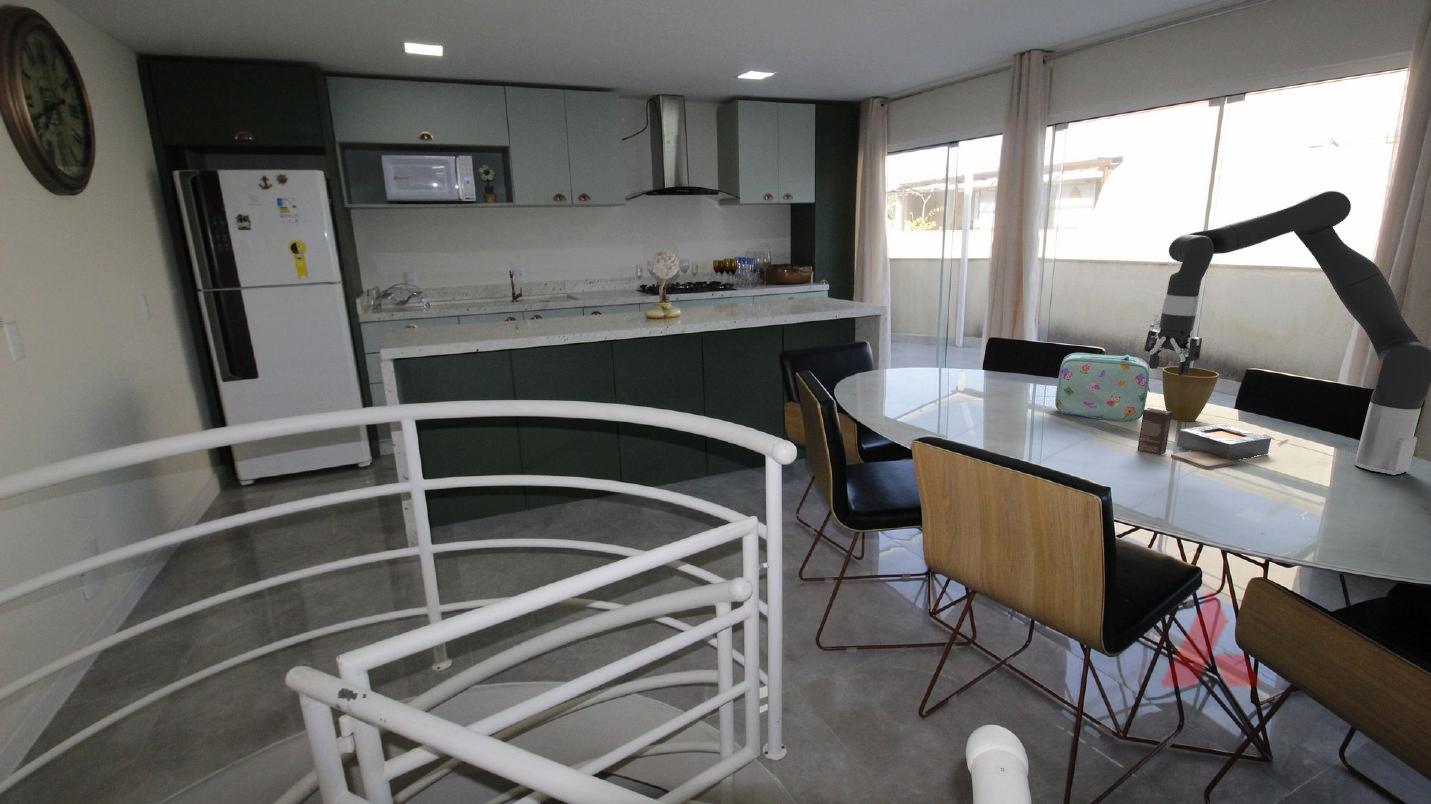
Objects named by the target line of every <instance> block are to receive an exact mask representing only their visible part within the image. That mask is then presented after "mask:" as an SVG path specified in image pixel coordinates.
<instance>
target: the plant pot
mask: <svg viewBox="0 0 1431 804" xmlns="http://www.w3.org/2000/svg"><path fill="white" fill-rule="evenodd" d="M1178 370H1179V366H1177V365H1176V366H1174V365H1172V366H1165V367H1163V368H1162V374H1161V375H1162V378H1161V379H1162V393H1163V401H1164V407H1165V411H1170V412H1172V417H1171V421H1177V422H1181V423H1192V422H1195V421H1196V420H1197V419H1198V418H1199V416H1200V414H1201V413H1202V412H1203V409H1205V407H1206V404H1208V401H1209V399H1210V397H1211V395H1212V394H1213V391H1214V389H1215V387H1216V384H1217V381H1218V379H1219V377H1220V373H1218V372H1216V371H1213V370H1209V369H1205V368H1199V367H1191V366H1189V371H1188V373H1187V374H1186V375H1182V376H1181V375H1178Z"/></svg>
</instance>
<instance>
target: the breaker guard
mask: <svg viewBox="0 0 1431 804" xmlns="http://www.w3.org/2000/svg"><path fill="white" fill-rule="evenodd" d="M1218 431H1222V432H1226V433H1229V434H1233V435H1237V436H1240V437H1241V438H1235V439H1226V438H1222V437H1219V436H1215V435H1212V434H1208V433H1212V432H1218ZM1271 440H1272V437H1271V436H1267V435H1262V434H1259V433H1256V432H1255V433H1254V432H1252V431H1248V430H1243V429H1240V428H1237V427H1233V426H1229V425H1226V424H1222V423H1216V424H1208V425H1202V426H1196V427H1188V428H1182V429H1179V430H1178V436H1177V443H1176V447H1177V448H1181V449H1184V450H1187V451H1194V450H1199V451H1202V452H1205V453H1209V454H1212V455H1215V456H1218V457H1221V458H1225V459H1228V460H1231V461H1234V462H1235V461H1240V460H1239V459H1241V460H1244V459H1243V458H1247V459H1252V458H1251V457H1253V458H1255V457H1254V456H1257V455H1264V454H1267V453H1268V454H1269V449H1270V446H1271Z"/></svg>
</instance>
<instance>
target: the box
mask: <svg viewBox="0 0 1431 804" xmlns="http://www.w3.org/2000/svg"><path fill="white" fill-rule="evenodd" d="M1171 417H1172V412H1170V411H1166V410H1164V409H1163V410H1162V409H1156V408H1152V407H1151V408H1150V407H1148V408H1145V409H1144V410H1143V415H1142V417H1141V425H1140V431H1139V436H1138V437H1139V438H1138V444H1137V451H1139V452H1141V453H1142V452H1143V453H1148V454H1153V455H1157V456H1163V455H1164V454H1165V453H1167V446H1168V441H1169V433H1170V429H1171V422H1172V419H1171Z"/></svg>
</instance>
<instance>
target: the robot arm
mask: <svg viewBox="0 0 1431 804" xmlns="http://www.w3.org/2000/svg"><path fill="white" fill-rule="evenodd" d="M1351 209H1352V203H1351V201H1350V199H1349V197H1348V196H1347V195H1345V194H1344V193H1342V192H1340V191H1336V190H1329V191H1328V190H1325V191H1321V192H1318V193H1315V194H1313V195H1311V196H1309V197H1307V198H1305V199H1303V200H1301V201H1299V202H1297V203H1295V204H1294V205H1291V206H1288V207H1286V208H1285V207H1284V208H1282V209H1279V210H1276V211H1273V212H1269V213H1266V214H1262V215H1258V216H1255V217H1251V218H1246V219H1243V220H1239V221H1235V222H1231V223H1229V224H1225V225H1221V226H1219V227H1217V228H1216V227H1215V228H1211V229H1207V230H1201V231H1195V232H1190V233H1187V234H1186V233H1185V234H1182V235H1180V236H1178V237H1177V238H1175V239H1174V240H1173V241H1172V242H1171V243H1170V245H1169V248H1168V255H1169V256H1170V258H1171V259H1173V261H1175V262H1179V263H1181V265H1180V267H1179V270H1178V271H1176V272H1174V273H1172V274H1171V275H1170V277H1169V279H1168V285H1167V290H1166V295H1165V298H1164V300H1163V305H1162V310H1161V316H1160V320H1159V327H1158V328H1159V329H1160V330H1158V329H1152V330H1148V333H1147V337H1146V341H1145V344H1144V348H1143V349H1144V351H1145V352H1147V353H1149V355H1150V357H1149V361H1148V366H1149V369H1155V370H1156V369H1159V368H1158V367H1159V363H1160V358H1161V355H1160V354H1161V353H1162V352H1163V351H1164V350H1169V351H1173V352H1175V353H1176V355H1177V356H1179V358H1180V361H1179V370H1178V375H1181V376H1182V375H1186V374H1187V373H1188V371H1189V367H1191V366H1190V365H1191V362H1194V361H1199V360H1200V355H1201V350H1202V349H1201V348H1202V342H1203V339H1202V337H1192V336H1191V332H1192V331H1193V329H1194V325H1195V319H1196V315H1197V310H1198V306H1199V304H1198V303H1199V294H1200V289H1201V285H1202V284H1201V283H1202V280H1203V278H1204V276H1205V275H1206V273H1207V270H1208V268H1209V266H1210V265H1211V264H1210V263H1211V261H1212V260H1213V257H1214V254H1215V255H1217V254H1220V255H1221V254H1229V253H1231V252H1234V251H1239V250H1242V249H1246V248H1249V247H1253V246H1255V245H1258V244H1261V243H1263V242H1267V241H1269V240H1271V239H1275V238H1277V237H1280V236H1283V235H1286V234H1290V233H1292V232H1293V233H1294V234H1295V235H1296V236H1297V237H1298V239H1299V240H1300V241H1301V242H1302V244H1303V245H1304V246H1305V248H1307V250H1308V251H1309V252H1310V254H1311V255H1312V256H1313V258H1314V260H1315V261H1316V262H1317V264H1318V266H1319V267H1320V268H1321V270H1322V272H1323V273H1324V274H1325V276H1326V278H1327V279H1328V281H1329V282H1330V284H1331V286H1332V288H1333V290H1334V291H1335V293H1336V295H1337V297H1338V299H1339V300H1340V301H1341V303H1342V304H1343V306H1344V307H1345V309H1346V310H1347V311H1348V313H1350V315H1351V316H1352V318H1354V320H1355V321H1356V322H1357V323H1358V324H1359V325H1360V326H1361V327H1362V329H1363V330H1364V332H1365V333H1366V335H1367V338H1369V340H1370V342H1371V344H1372V347H1373V349H1374V351H1375V353H1376V356H1377V358H1378V362H1379V365H1380V367H1381V368H1380V371H1379V374H1378V377H1377V381H1376V385H1375V387H1374V390H1373V391H1372V393H1371V398H1370V402H1369V405H1368V408H1367V413H1366V417H1365V419H1364V420H1365V421H1364V424H1363V428H1362V432H1361V436H1360V439H1359V445H1358V447H1357V448H1358V449H1357V452H1356V456H1355V460H1354V462H1355V461H1357V462H1358V463H1360V464H1363V465H1365V466H1369V467H1375V468H1379V469H1385V470H1392V471H1399V470H1409V471H1410V467H1411V463H1412V459H1413V456H1414V453H1415V449H1416V446H1417V442H1418V437H1416V436H1415V432H1416V429H1417V425H1418V420H1419V417H1420V415H1421V410H1422V408H1423V407H1422V406H1423V403H1424V401H1425V399H1426V398H1427V396H1428V393H1429V390H1430V388H1431V349H1430V348H1429V347H1428V346H1427V345H1425V344H1424V343H1423V342H1422V341H1421V340H1420V339H1419V337H1418V336H1416V335H1415V333H1414V331H1413V330H1412V329H1411V327H1410V326H1409V325H1408V324H1407V323H1406V321H1405V319H1404V318H1403V316H1402V315H1403V314H1402V313H1401V311H1400V307H1399V303H1398V302H1397V299H1396V296H1395V294H1394V291H1393V290H1392V288H1391V286H1390V284H1389V282H1388V281H1387V279H1386V276H1385V275H1383V273H1382V271H1381V269H1380V268H1379V266H1377V264H1376V263H1375V262H1373V261H1372V260H1371V259H1370V258H1368V257H1366V256H1365V255H1363V254H1362V253H1360V252H1357V251H1356V250H1354V249H1353V248H1351V247H1350V246H1349V245H1347V244H1346V243H1345V242H1344V241H1343V240H1342V239H1341V238H1340V236H1339V234H1338V233H1337V232H1336V230H1335V228H1334V227H1336V226H1338V225H1339V224H1341V223H1342V222H1343V221H1344V220H1346V218H1348V216H1349V214H1351V213H1350V212H1351ZM1158 340H1159V341H1158Z"/></svg>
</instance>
